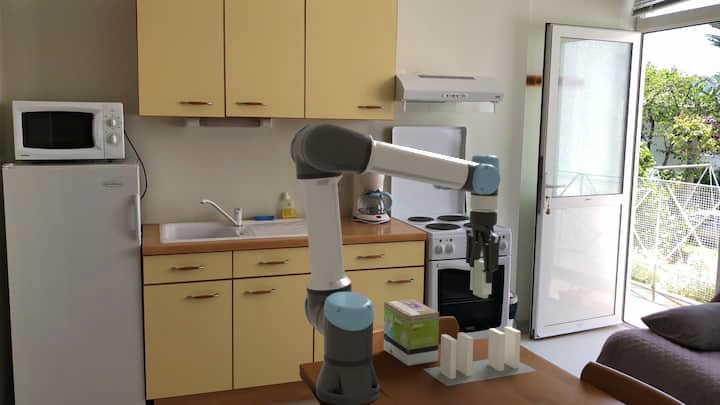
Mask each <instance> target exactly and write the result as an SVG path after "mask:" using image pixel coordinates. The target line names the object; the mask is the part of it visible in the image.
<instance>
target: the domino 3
mask: <svg viewBox="0 0 720 405" xmlns="http://www.w3.org/2000/svg"><path fill="white" fill-rule="evenodd" d="M487 353H488V354H487V359H488V365H489V366H491V367H493V368H494V369H496V370H498V371H503V370H504V355H505V333H504V331H501V330H498V329H497V328H493V327H492V328H489V329H488V346H487Z"/></svg>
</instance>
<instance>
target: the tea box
mask: <svg viewBox="0 0 720 405" xmlns="http://www.w3.org/2000/svg"><path fill="white" fill-rule="evenodd" d="M439 328H440V311H438V310H435V309H433V308H431V307H429V306H427V305H425V304H423V303H421V302H420V301H418V300H416V299H414V298H411V299H410V298H409V299H403V300H393V301H385V302H384V305H383V351H385V352H387V353H388V354H390V355H392V356H393V357H394V358H396V359H397V360H399V361H400V362H402V363H403V364H405V365H406V366H413V365H419V364H426V363H427V364H428V363H433V362H438V361H439V340H440V339H439V335H440V334H439V332H440V329H439Z"/></svg>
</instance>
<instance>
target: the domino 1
mask: <svg viewBox="0 0 720 405" xmlns="http://www.w3.org/2000/svg"><path fill="white" fill-rule="evenodd" d="M439 358H440V361H439V362H440V364H439V366H440V372H441V373H442V374H444V375H445V376H447V377H448V378H449V379H453V378H456V364H457V338H456V339H455V338H454V337H452V336H450V335H449V334H441V335H440V357H439Z"/></svg>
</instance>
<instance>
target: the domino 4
mask: <svg viewBox="0 0 720 405" xmlns="http://www.w3.org/2000/svg"><path fill="white" fill-rule="evenodd" d="M503 333H505V355H504V363H505V364H507V365H509V366H510V367H512V368H514V369H515V368H519V361H520V357H521V356H520V354H521V337H522V336H521V335H522V333H521V331H520V330H519V329H516V328H514V327H511V326H503Z"/></svg>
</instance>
